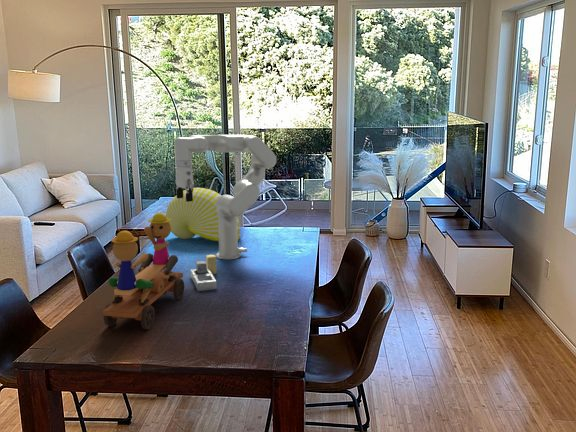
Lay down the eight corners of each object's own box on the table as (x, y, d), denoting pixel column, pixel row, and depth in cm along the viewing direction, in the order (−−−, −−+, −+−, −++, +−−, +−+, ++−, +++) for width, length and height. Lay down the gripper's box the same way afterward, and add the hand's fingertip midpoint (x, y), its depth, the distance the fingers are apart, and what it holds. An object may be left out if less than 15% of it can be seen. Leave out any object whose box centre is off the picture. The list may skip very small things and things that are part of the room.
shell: (229, 260, 308) (241, 248, 338) (243, 205, 302) (254, 197, 331) (152, 237, 312) (171, 227, 341) (165, 182, 306) (182, 177, 335)
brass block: (214, 270, 269) (214, 254, 267) (216, 273, 265) (216, 256, 263) (206, 271, 268) (205, 255, 266) (207, 274, 264) (207, 257, 262)
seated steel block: (205, 277, 259) (204, 260, 257) (206, 280, 255) (206, 263, 254) (196, 278, 258) (195, 261, 256) (197, 281, 254) (197, 264, 252)
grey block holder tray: (208, 275, 263) (208, 267, 262) (216, 288, 245) (216, 281, 244) (191, 277, 260) (190, 269, 259) (197, 290, 242) (197, 283, 242)
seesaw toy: (141, 337, 198) (135, 237, 190) (99, 334, 200) (91, 235, 193) (187, 292, 241) (184, 209, 233) (152, 290, 244) (148, 207, 236)
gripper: (199, 165, 265) (200, 201, 268) (182, 161, 278) (183, 196, 282) (184, 166, 260) (185, 203, 264) (168, 162, 274) (169, 197, 278)
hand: (184, 199), depth 273 cm, fingers open, 9 cm apart
